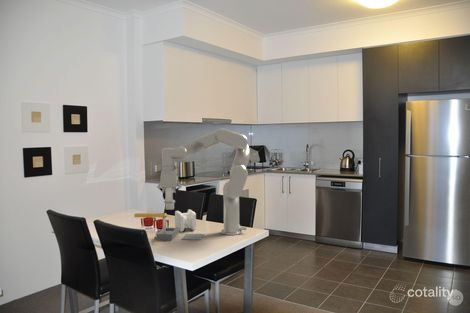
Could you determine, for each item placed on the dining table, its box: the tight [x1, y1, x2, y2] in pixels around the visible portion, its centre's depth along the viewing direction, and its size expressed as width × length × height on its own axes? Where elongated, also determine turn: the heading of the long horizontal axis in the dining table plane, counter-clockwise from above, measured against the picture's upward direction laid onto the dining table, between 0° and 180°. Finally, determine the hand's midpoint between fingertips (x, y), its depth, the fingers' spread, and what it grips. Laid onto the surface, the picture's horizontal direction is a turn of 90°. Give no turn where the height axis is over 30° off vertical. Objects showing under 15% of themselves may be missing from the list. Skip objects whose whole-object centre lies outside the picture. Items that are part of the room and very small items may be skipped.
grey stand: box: [155, 217, 180, 241], centre depth 222 cm, size 9×16×13 cm, turn 174°
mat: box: [180, 233, 205, 241], centre depth 221 cm, size 11×12×1 cm
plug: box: [163, 188, 176, 211], centre depth 224 cm, size 6×6×13 cm
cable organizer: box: [174, 209, 197, 233], centre depth 239 cm, size 15×11×12 cm
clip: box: [134, 212, 168, 218], centre depth 214 cm, size 3×18×2 cm, turn 89°
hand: (169, 198), depth 224 cm, fingers closed on plug, 5 cm apart
